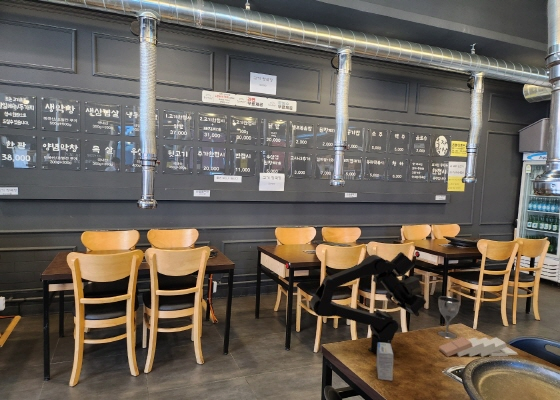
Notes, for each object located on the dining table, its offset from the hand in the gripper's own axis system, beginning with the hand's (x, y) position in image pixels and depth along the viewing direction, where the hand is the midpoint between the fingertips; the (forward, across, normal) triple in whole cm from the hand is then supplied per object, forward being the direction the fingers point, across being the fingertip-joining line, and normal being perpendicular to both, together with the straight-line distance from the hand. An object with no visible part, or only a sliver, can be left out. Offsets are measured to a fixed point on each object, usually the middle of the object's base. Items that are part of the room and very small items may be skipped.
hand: (418, 315), depth 130 cm
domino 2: (+19, -2, -2) cm, 19 cm away
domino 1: (+16, -2, +2) cm, 16 cm away
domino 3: (+22, -3, -5) cm, 22 cm away
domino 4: (+25, -3, -8) cm, 26 cm away
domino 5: (+27, -4, -11) cm, 29 cm away
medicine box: (-2, -12, +24) cm, 28 cm away
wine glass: (+24, +14, -8) cm, 29 cm away
